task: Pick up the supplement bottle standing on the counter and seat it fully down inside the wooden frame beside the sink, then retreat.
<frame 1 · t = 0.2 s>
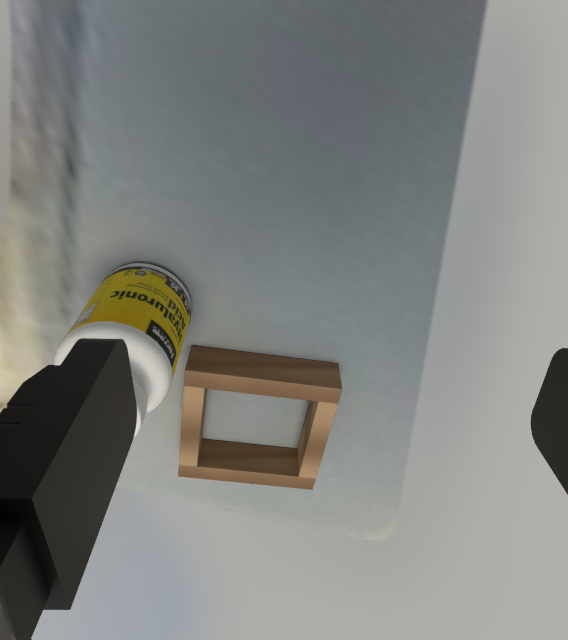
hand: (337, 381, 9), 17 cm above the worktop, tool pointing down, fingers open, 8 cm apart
supplement bottle: (147, 299, 29), on the worktop
wooden frame: (256, 408, 33), on the worktop
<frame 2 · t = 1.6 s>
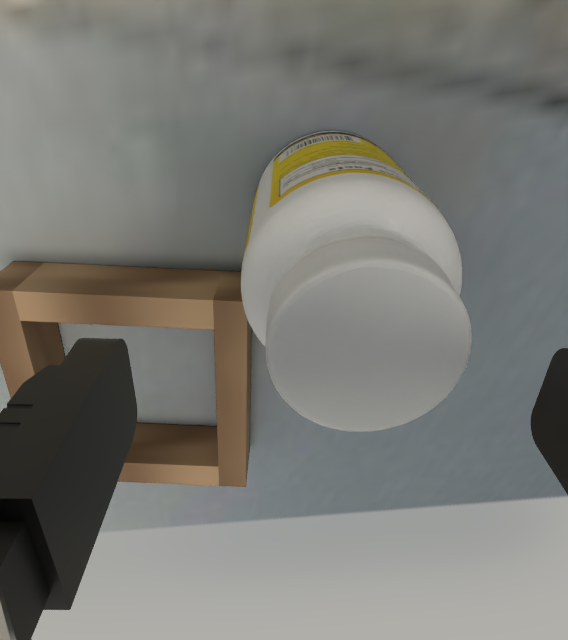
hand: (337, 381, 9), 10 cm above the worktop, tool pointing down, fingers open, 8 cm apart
supplement bottle: (328, 204, 18), on the worktop
wooden frame: (145, 364, 21), on the worktop
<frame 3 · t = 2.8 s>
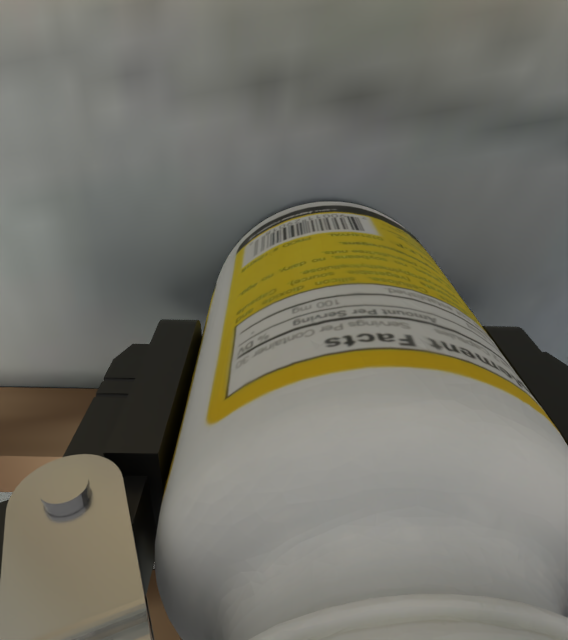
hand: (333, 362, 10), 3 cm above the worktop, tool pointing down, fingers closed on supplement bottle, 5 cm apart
supplement bottle: (325, 299, 12), on the worktop, touching gripper
wooden frame: (77, 503, 16), on the worktop
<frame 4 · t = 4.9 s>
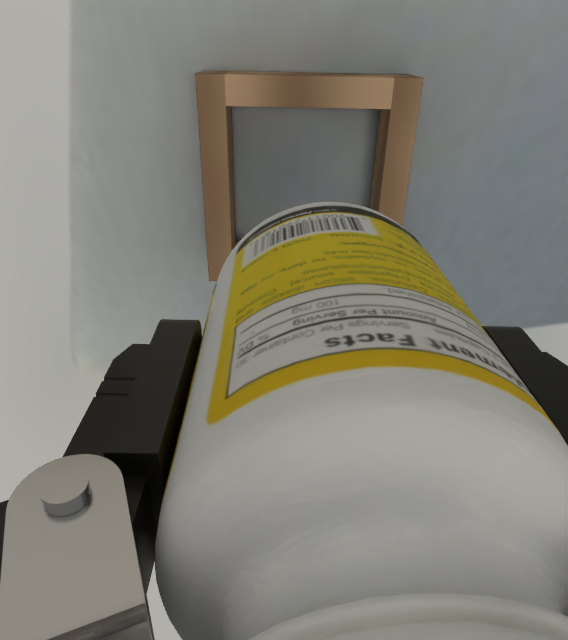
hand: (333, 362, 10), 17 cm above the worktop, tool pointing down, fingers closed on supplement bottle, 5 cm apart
supplement bottle: (324, 299, 12), point 14 cm above the worktop, touching gripper
wooden frame: (303, 176, 24), on the worktop
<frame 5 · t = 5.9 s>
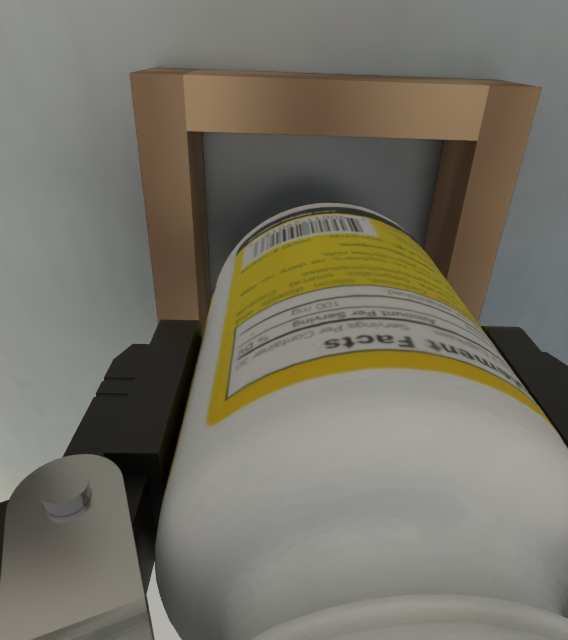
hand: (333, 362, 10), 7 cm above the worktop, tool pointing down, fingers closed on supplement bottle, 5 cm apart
supplement bottle: (324, 300, 12), point 4 cm above the worktop, touching gripper
wooden frame: (316, 237, 15), on the worktop
when the fingers open (4 cm above the worktop, at t = 6.9 s): supplement bottle drops 1 cm, resting in wooden frame.
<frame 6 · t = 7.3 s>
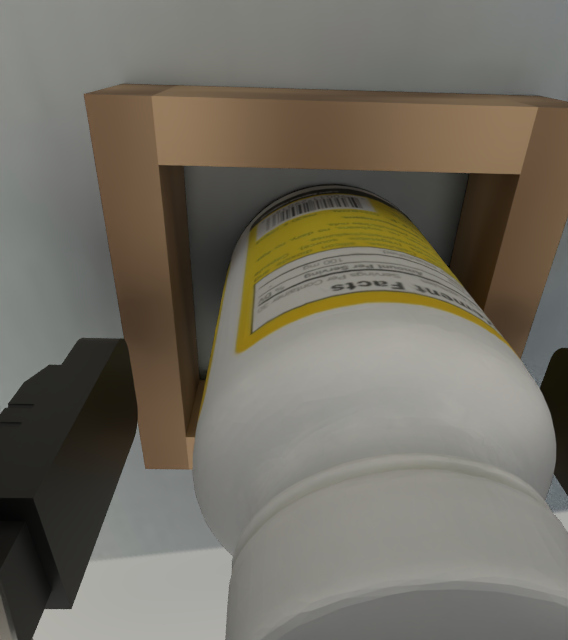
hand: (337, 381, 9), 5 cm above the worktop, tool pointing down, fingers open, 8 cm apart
supplement bottle: (327, 276, 13), resting in wooden frame
wooden frame: (319, 279, 13), on the worktop
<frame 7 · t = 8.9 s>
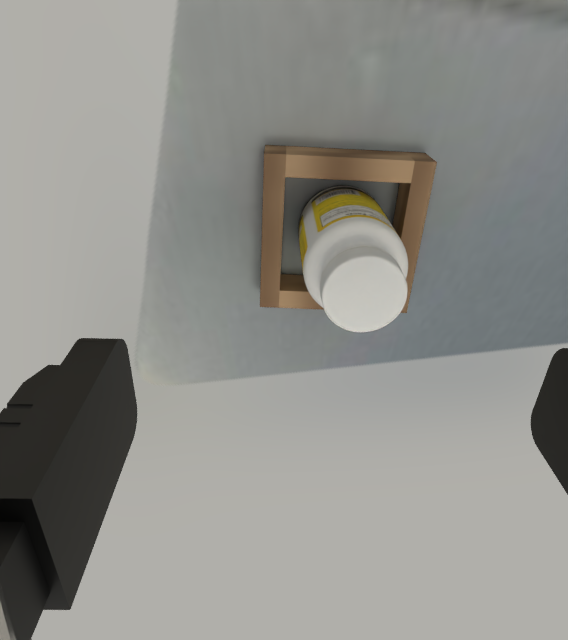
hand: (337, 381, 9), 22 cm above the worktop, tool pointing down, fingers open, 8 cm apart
supplement bottle: (340, 225, 31), resting in wooden frame
wooden frame: (337, 226, 31), on the worktop
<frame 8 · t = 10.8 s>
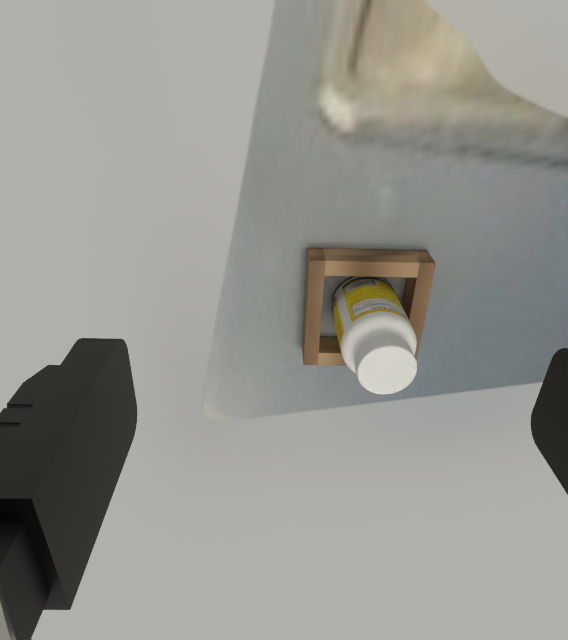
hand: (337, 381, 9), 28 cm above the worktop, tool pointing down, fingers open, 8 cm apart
supplement bottle: (363, 300, 40), resting in wooden frame
wooden frame: (361, 302, 40), on the worktop
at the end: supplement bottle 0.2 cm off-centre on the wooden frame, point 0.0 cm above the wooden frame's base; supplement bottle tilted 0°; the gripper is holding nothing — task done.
